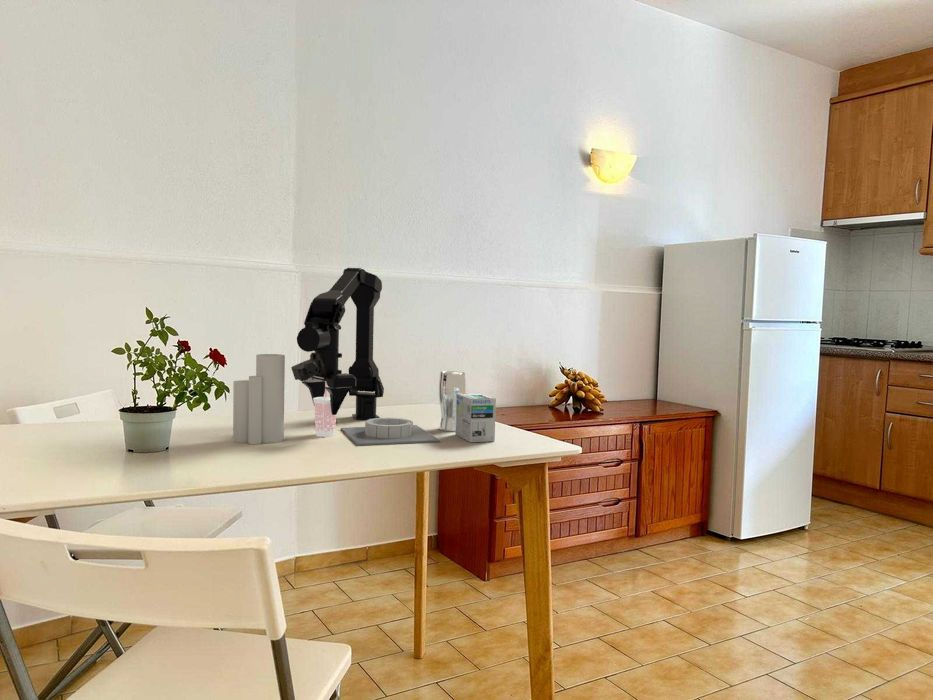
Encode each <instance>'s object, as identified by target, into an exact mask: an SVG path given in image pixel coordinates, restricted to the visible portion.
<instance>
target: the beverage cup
mask: <svg viewBox="0 0 933 700" xmlns="http://www.w3.org/2000/svg"><path fill="white" fill-rule="evenodd" d="M325 387H328V385H327V383H326V381H325ZM313 400H314V401H313ZM313 400H312V403H313V402H314V403H313V406H315V407H314V423H315V424H314V425H315V427H314V428H315V436H317V437H325V438H326V437H333V436H335V435H336V424H337V414H336V415H332V413H331V403H330V396H328V391H327V390H326V389H325V393H324V397H316V398H313Z"/></svg>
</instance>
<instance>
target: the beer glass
mask: <svg viewBox="0 0 933 700" xmlns="http://www.w3.org/2000/svg"><path fill="white" fill-rule="evenodd" d="M456 393H466V373H465V372H464V371H455V370H451V371H450V370H447V371H446V370H445V371H440V372H439V380H438V398H439V406H440V413H441V414H440V421H439V423H440V424H439V426H438V427H439V430H440V431H443V432H456Z"/></svg>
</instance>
